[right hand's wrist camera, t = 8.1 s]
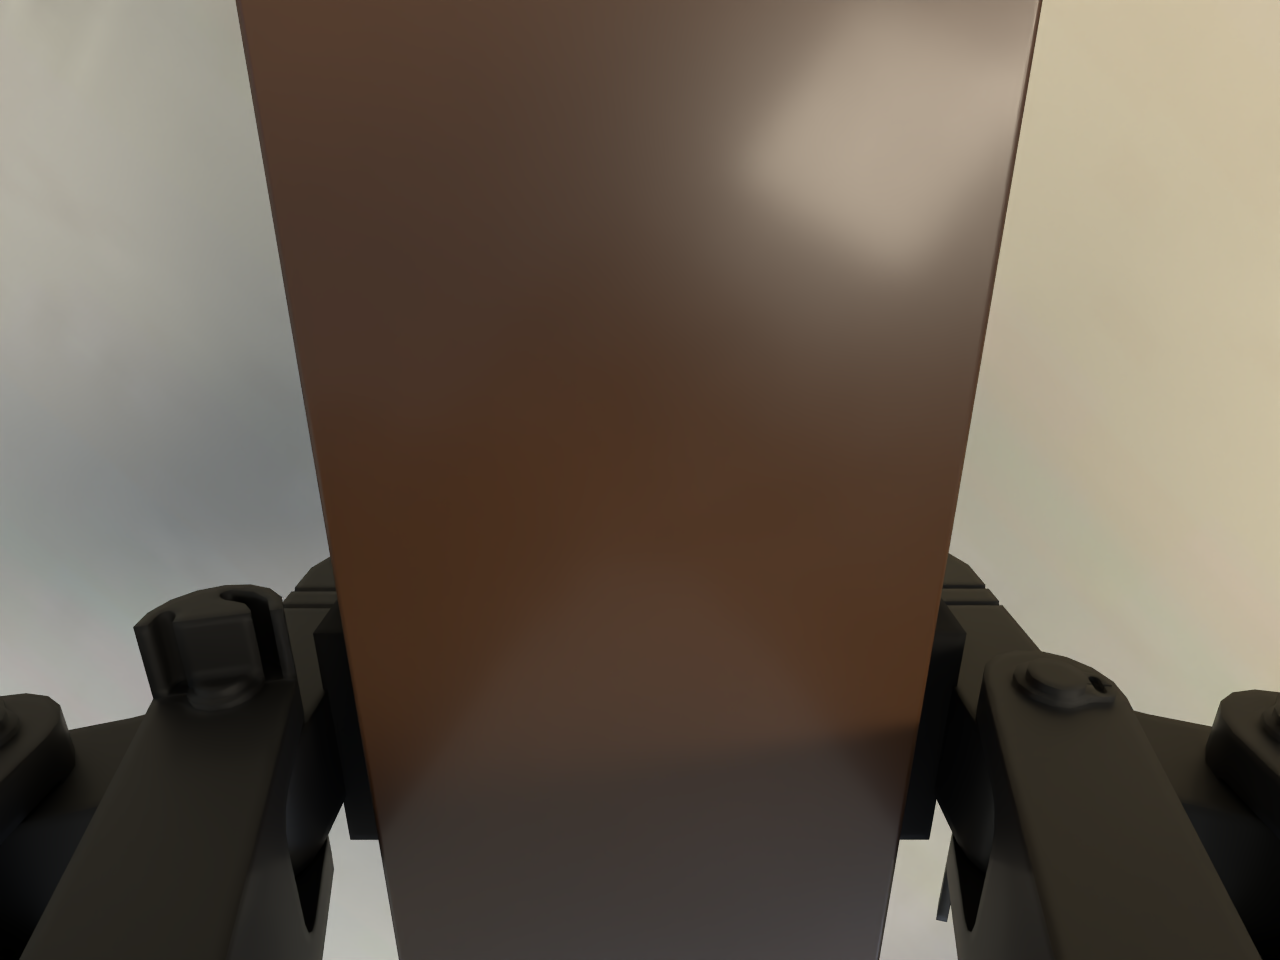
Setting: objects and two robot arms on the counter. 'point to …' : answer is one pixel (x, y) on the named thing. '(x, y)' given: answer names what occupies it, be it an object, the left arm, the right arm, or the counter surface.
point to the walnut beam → (639, 439)
